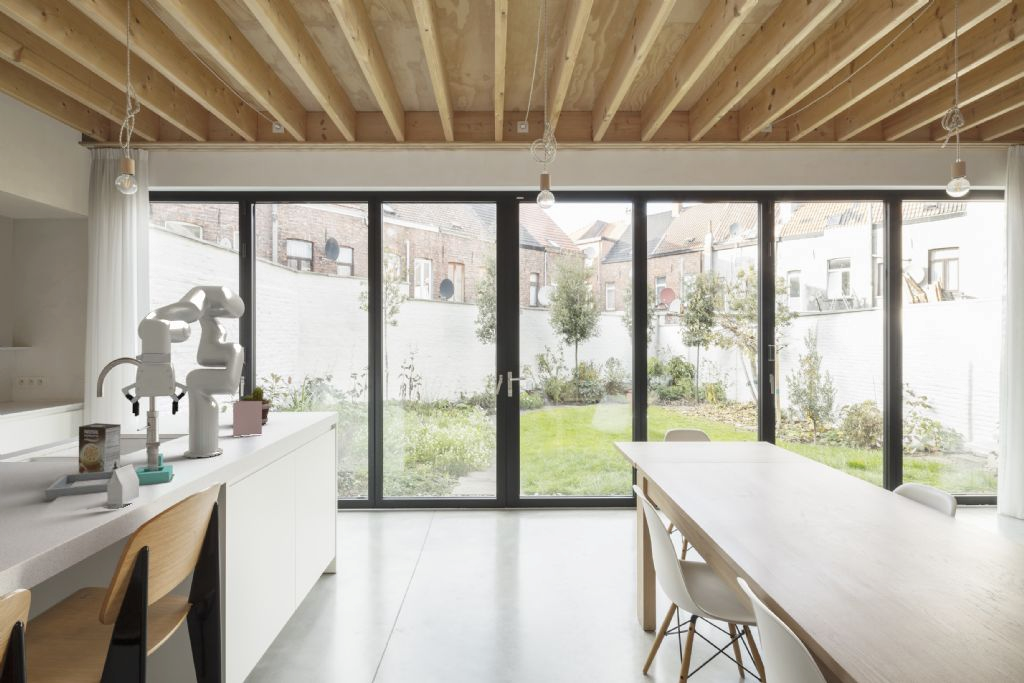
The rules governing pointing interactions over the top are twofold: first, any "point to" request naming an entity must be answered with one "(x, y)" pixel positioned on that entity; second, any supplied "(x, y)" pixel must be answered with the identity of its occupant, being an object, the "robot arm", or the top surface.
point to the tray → (66, 481)
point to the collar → (155, 473)
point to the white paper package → (122, 487)
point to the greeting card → (247, 418)
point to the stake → (153, 458)
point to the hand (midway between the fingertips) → (155, 415)
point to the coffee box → (99, 448)
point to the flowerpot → (259, 397)
